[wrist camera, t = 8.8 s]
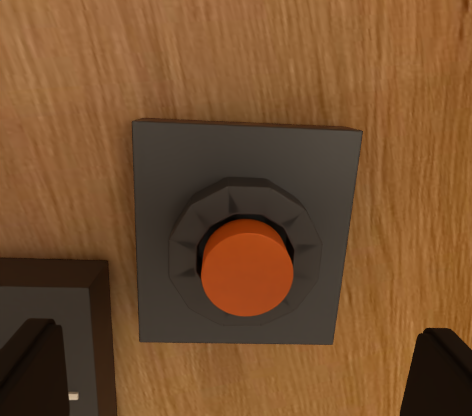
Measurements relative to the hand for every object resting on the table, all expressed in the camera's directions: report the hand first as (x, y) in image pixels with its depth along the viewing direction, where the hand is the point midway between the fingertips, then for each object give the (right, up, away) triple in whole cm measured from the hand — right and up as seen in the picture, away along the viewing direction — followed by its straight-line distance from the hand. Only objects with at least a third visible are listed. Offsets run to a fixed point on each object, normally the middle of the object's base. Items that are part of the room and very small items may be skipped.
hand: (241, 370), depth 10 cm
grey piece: (0, +3, +10) cm, 10 cm away
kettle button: (0, +2, +6) cm, 7 cm away
